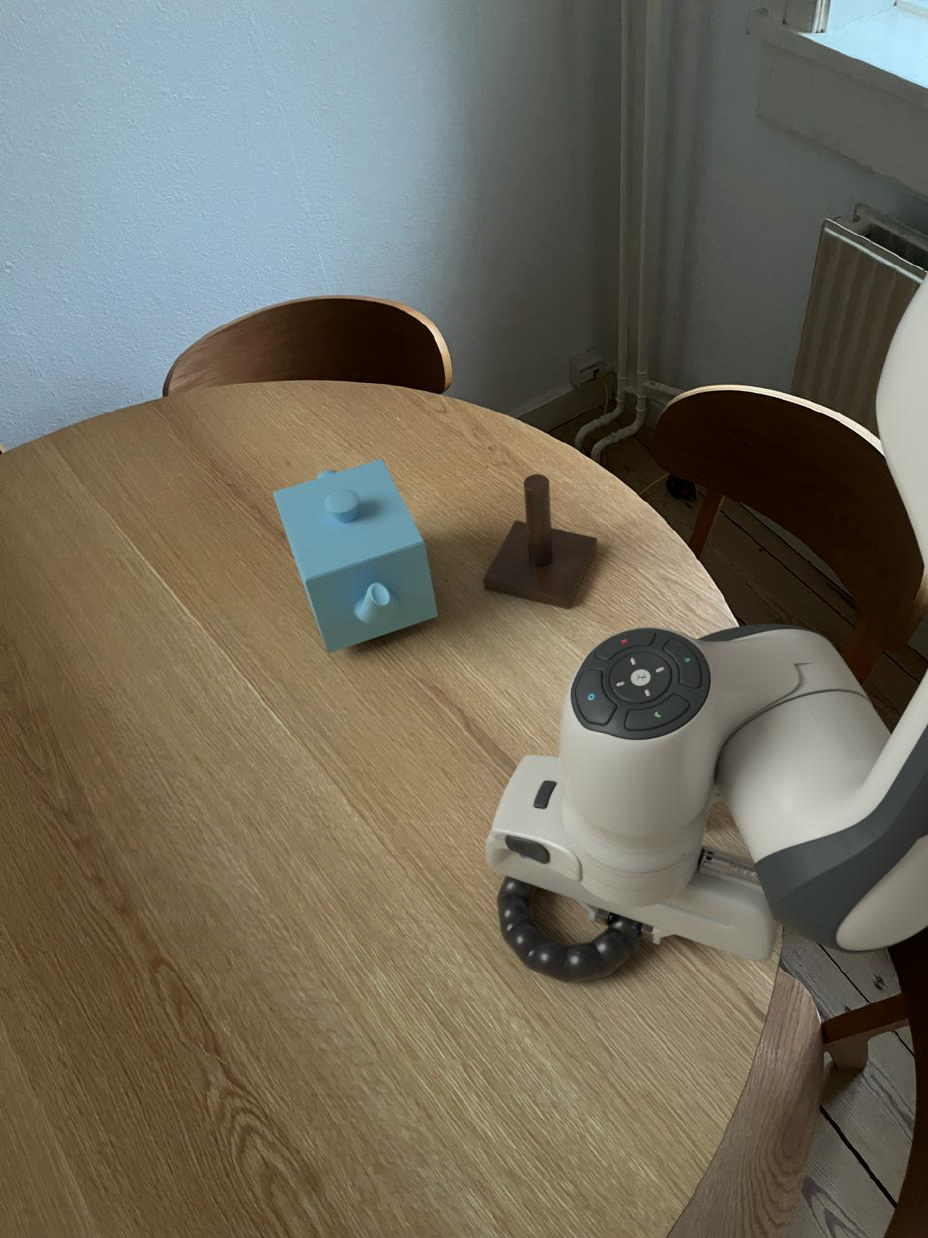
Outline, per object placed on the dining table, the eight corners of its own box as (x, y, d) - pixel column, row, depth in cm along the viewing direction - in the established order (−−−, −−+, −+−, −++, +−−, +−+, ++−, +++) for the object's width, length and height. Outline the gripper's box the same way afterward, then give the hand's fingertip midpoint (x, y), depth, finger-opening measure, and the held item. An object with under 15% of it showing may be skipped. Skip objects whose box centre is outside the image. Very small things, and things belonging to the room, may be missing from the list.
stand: (597, 548, 100) (597, 461, 91) (568, 609, 95) (566, 523, 86) (516, 530, 103) (509, 444, 94) (484, 589, 98) (473, 503, 89)
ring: (663, 874, 75) (665, 858, 73) (621, 1009, 69) (621, 996, 67) (529, 829, 79) (528, 813, 77) (477, 955, 73) (473, 940, 71)
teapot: (294, 559, 103) (261, 458, 93) (392, 528, 105) (371, 425, 95) (348, 712, 89) (316, 612, 79) (461, 672, 91) (444, 570, 80)
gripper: (810, 839, 59) (778, 933, 70) (503, 747, 66) (515, 844, 77) (790, 931, 56) (760, 1016, 66) (467, 824, 63) (485, 915, 73)
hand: (626, 923), depth 71 cm, fingers closed on ring, 2 cm apart
